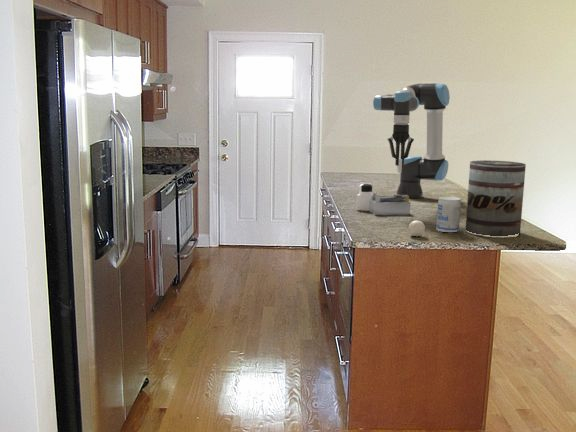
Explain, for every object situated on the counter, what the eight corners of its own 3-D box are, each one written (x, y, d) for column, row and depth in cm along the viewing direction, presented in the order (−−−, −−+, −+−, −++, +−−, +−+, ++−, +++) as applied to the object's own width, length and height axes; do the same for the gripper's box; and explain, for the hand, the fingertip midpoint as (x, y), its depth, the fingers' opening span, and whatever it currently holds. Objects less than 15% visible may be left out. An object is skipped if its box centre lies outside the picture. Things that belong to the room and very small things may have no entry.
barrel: (455, 231, 280) (459, 162, 274) (482, 225, 295) (487, 159, 289) (503, 240, 264) (509, 167, 258) (529, 233, 279) (535, 163, 273)
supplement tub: (432, 231, 279) (434, 197, 277) (442, 228, 286) (444, 195, 284) (452, 234, 273) (455, 200, 270) (462, 231, 280) (465, 197, 278)
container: (373, 208, 334) (374, 183, 331) (371, 211, 326) (372, 185, 324) (359, 207, 336) (359, 182, 333) (355, 210, 329) (356, 184, 326)
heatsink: (403, 211, 328) (404, 192, 326) (409, 214, 318) (410, 195, 317) (369, 211, 326) (369, 192, 324) (374, 214, 316) (375, 195, 314)
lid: (406, 197, 324) (406, 193, 323) (408, 198, 320) (408, 195, 320) (375, 199, 322) (375, 196, 322) (377, 201, 318) (377, 197, 318)
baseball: (406, 237, 267) (407, 221, 266) (409, 234, 273) (410, 218, 272) (422, 239, 264) (423, 222, 263) (425, 235, 271) (426, 219, 270)
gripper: (390, 124, 310) (388, 173, 314) (416, 124, 312) (414, 173, 316) (386, 123, 317) (384, 171, 322) (411, 123, 319) (409, 171, 323)
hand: (399, 172), depth 319 cm, fingers closed
